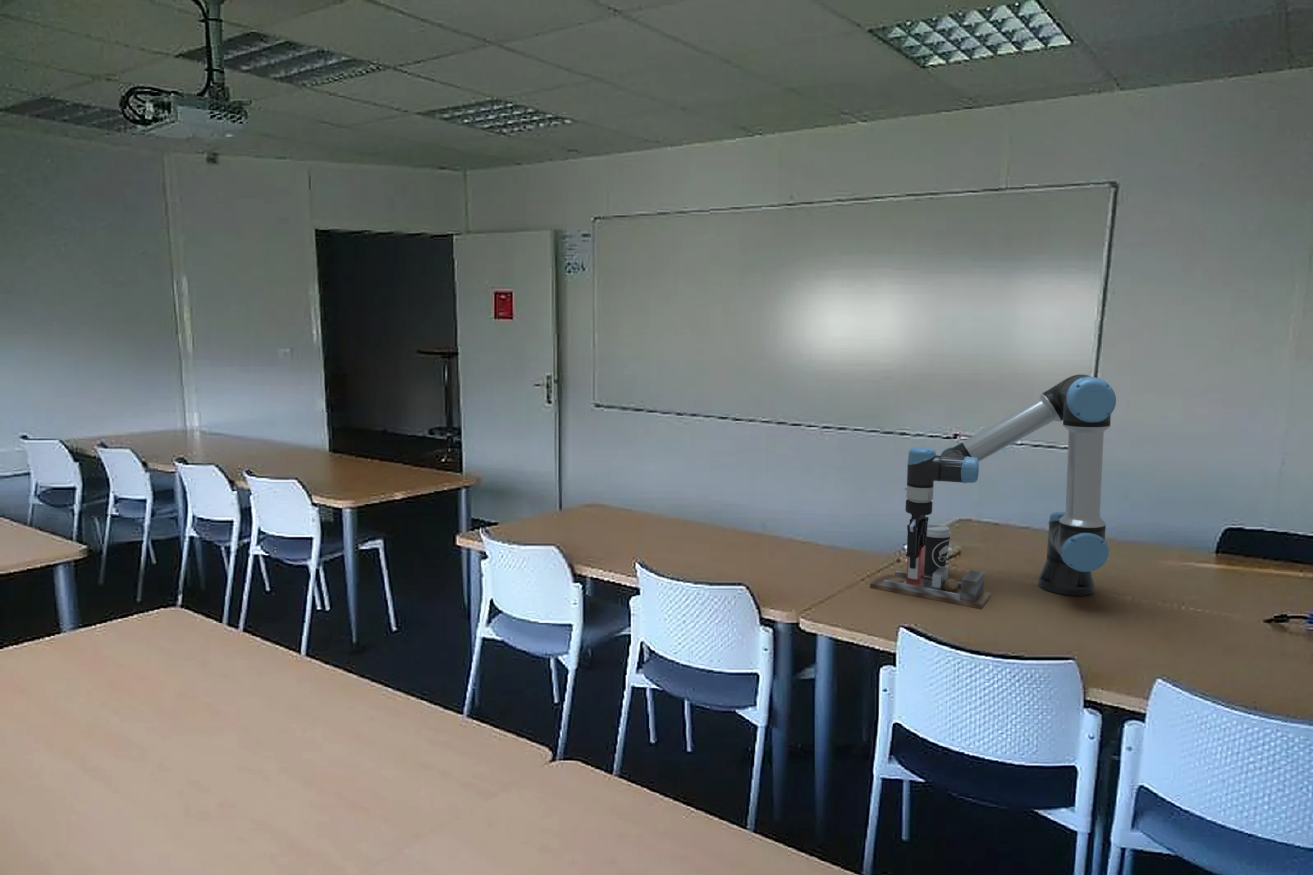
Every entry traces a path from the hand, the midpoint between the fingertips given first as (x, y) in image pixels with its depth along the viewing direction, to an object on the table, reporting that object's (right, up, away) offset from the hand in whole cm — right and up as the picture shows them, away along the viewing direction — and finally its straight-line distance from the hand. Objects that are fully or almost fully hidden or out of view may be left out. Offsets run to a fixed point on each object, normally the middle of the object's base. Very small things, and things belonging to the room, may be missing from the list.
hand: (915, 575), depth 243 cm
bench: (+4, -5, -2) cm, 6 cm away
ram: (+2, -3, -1) cm, 4 cm away
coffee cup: (+11, -2, +16) cm, 19 cm away
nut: (+9, -2, -6) cm, 11 cm away
